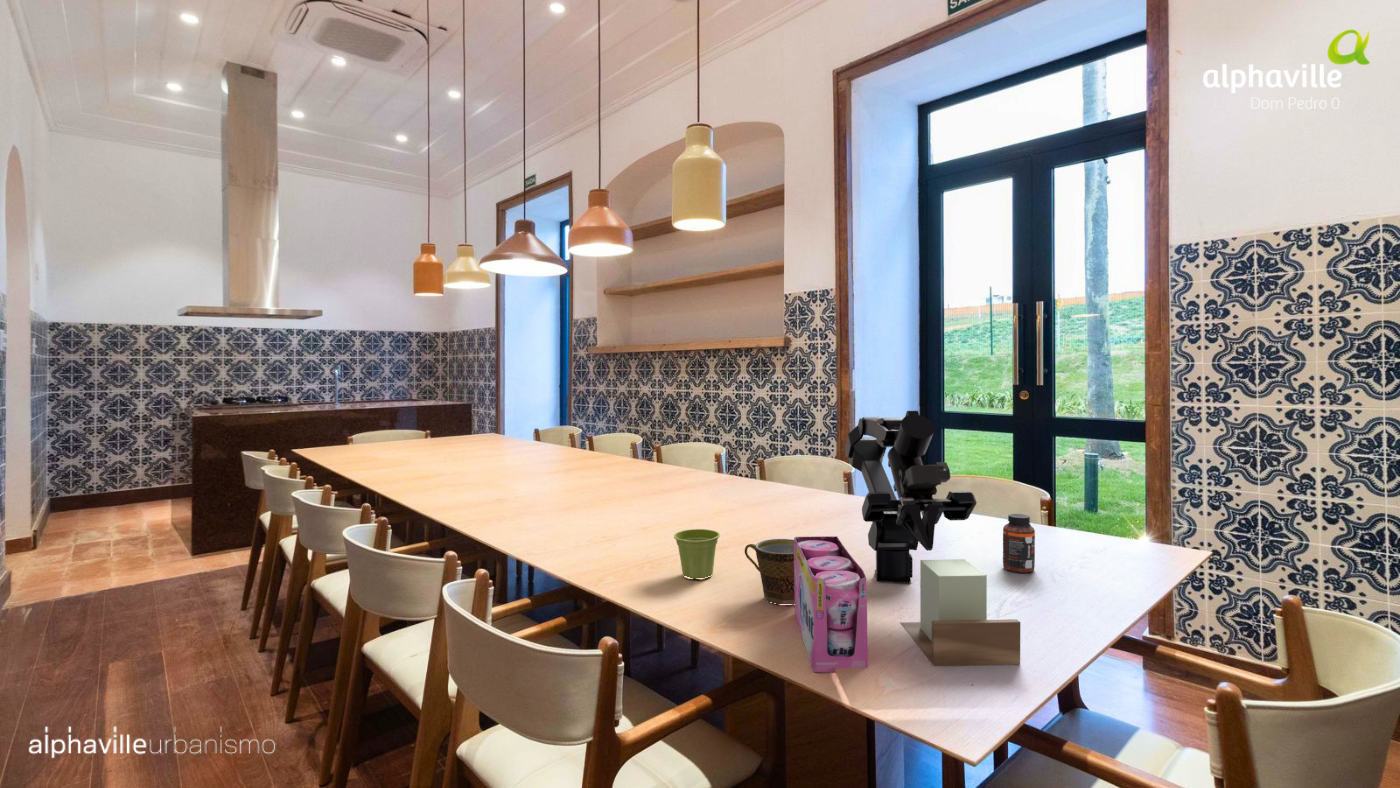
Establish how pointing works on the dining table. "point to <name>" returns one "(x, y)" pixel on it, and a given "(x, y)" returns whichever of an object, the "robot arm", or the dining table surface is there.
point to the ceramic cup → (776, 569)
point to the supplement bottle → (1019, 544)
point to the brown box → (969, 642)
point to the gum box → (830, 604)
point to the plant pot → (697, 551)
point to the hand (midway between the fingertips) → (929, 549)
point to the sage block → (951, 592)
